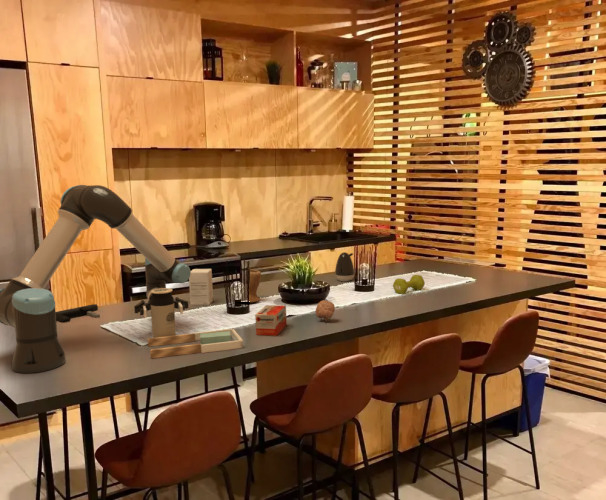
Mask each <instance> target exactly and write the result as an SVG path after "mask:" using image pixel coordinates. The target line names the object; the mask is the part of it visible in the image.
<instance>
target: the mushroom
mask: <svg viewBox="0 0 606 500" xmlns="http://www.w3.org/2000/svg"><path fill="white" fill-rule="evenodd" d="M335 310H336V307H335V304H334V303H333V302H332V301H329V300H325V299H324V300H321V301H319V302H318V303H317V305H316V308H315V316H316V317H317V318H318V319H323V320H324V321H325V322H326V323H327V322H328V320H329V319H331V318H332V317H333V316H334V313H335Z"/></svg>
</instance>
